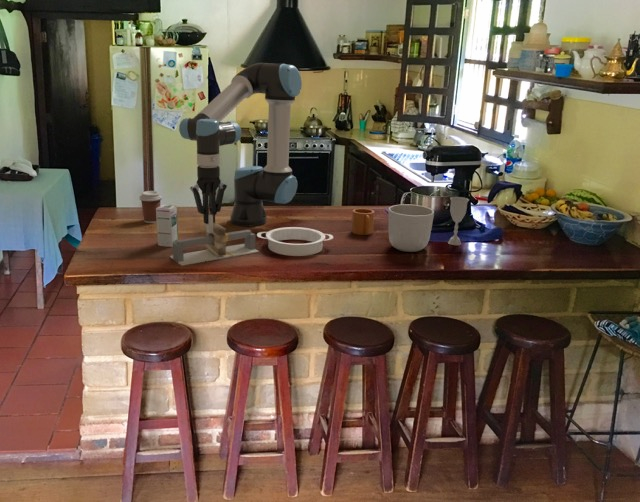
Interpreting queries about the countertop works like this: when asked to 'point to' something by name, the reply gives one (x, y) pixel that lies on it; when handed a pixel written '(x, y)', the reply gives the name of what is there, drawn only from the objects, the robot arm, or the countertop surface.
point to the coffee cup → (150, 205)
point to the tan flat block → (217, 240)
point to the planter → (409, 226)
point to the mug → (362, 221)
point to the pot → (295, 233)
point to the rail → (207, 254)
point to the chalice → (457, 215)
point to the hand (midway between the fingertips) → (209, 231)
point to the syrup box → (167, 225)
